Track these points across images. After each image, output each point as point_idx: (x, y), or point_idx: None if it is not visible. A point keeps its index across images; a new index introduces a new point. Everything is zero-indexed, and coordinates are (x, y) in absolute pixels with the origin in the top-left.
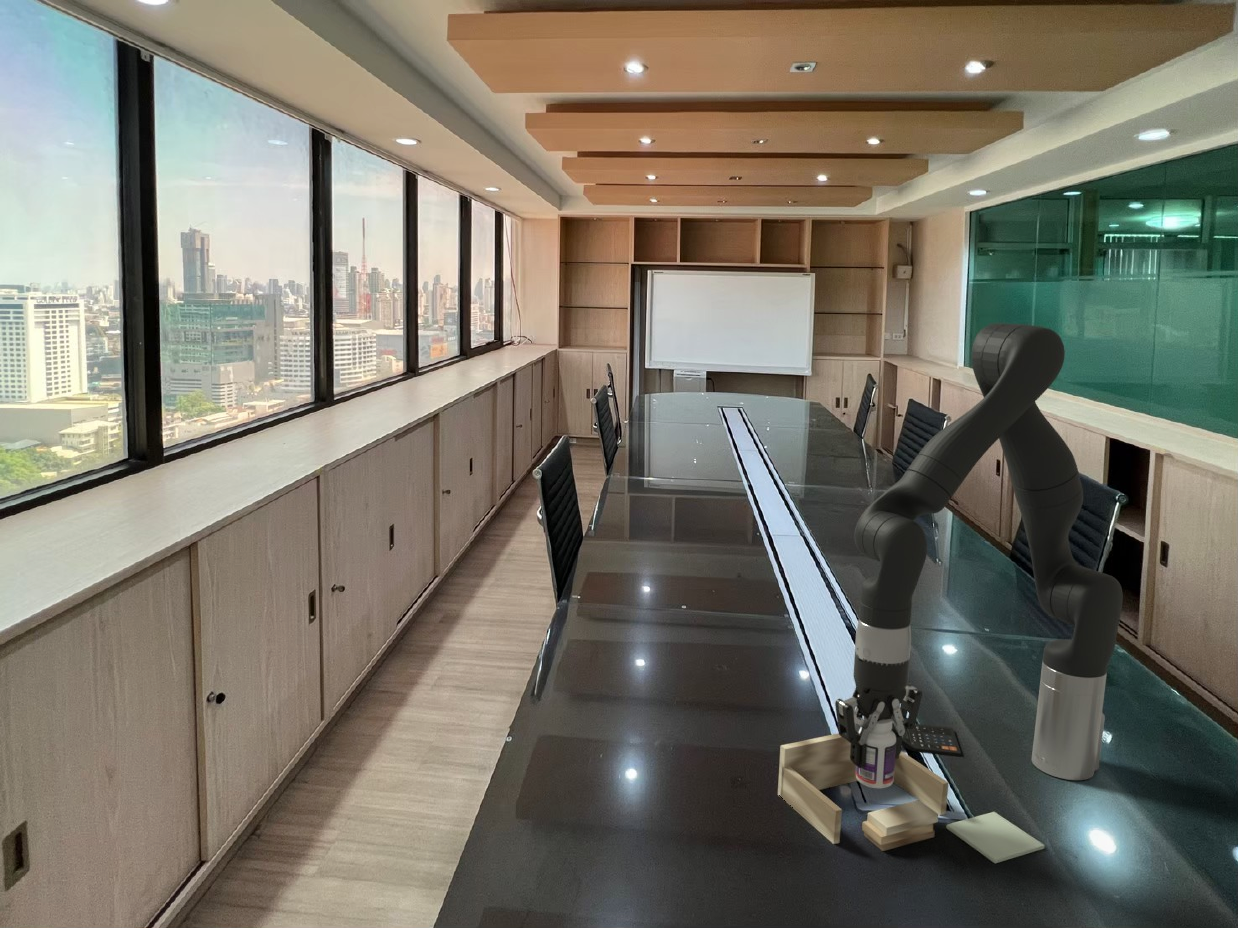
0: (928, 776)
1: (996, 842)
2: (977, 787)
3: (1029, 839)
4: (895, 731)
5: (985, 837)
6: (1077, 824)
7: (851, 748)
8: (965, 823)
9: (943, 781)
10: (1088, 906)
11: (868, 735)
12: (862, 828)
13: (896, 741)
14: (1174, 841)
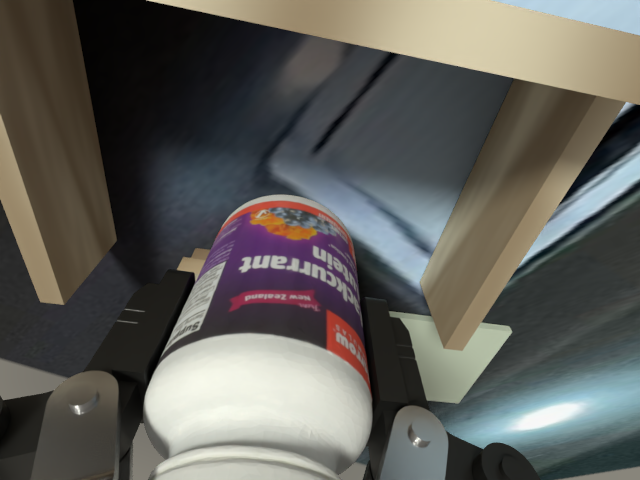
0: (465, 301)
1: None
2: (620, 256)
3: (457, 390)
4: (370, 463)
5: None
6: (576, 390)
7: (109, 340)
8: (421, 328)
9: (458, 342)
10: (366, 453)
11: (164, 457)
12: (181, 261)
13: None
14: (610, 446)
